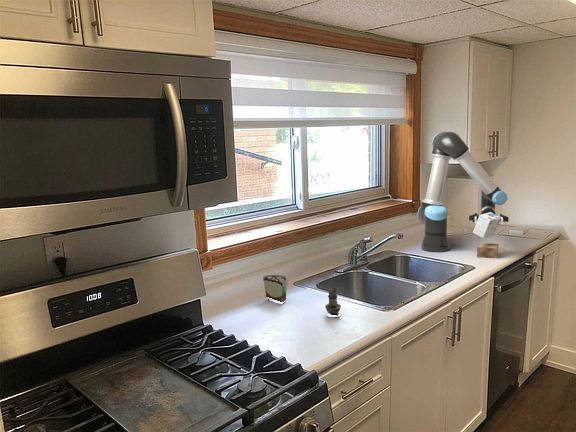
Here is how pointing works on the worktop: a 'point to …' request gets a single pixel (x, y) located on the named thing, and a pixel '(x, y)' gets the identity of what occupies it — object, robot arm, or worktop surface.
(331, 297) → the dark grey tall piece
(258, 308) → the worktop surface
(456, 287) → the worktop surface
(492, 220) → the light bulb box
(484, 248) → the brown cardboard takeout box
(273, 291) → the food container
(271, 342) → the worktop surface
